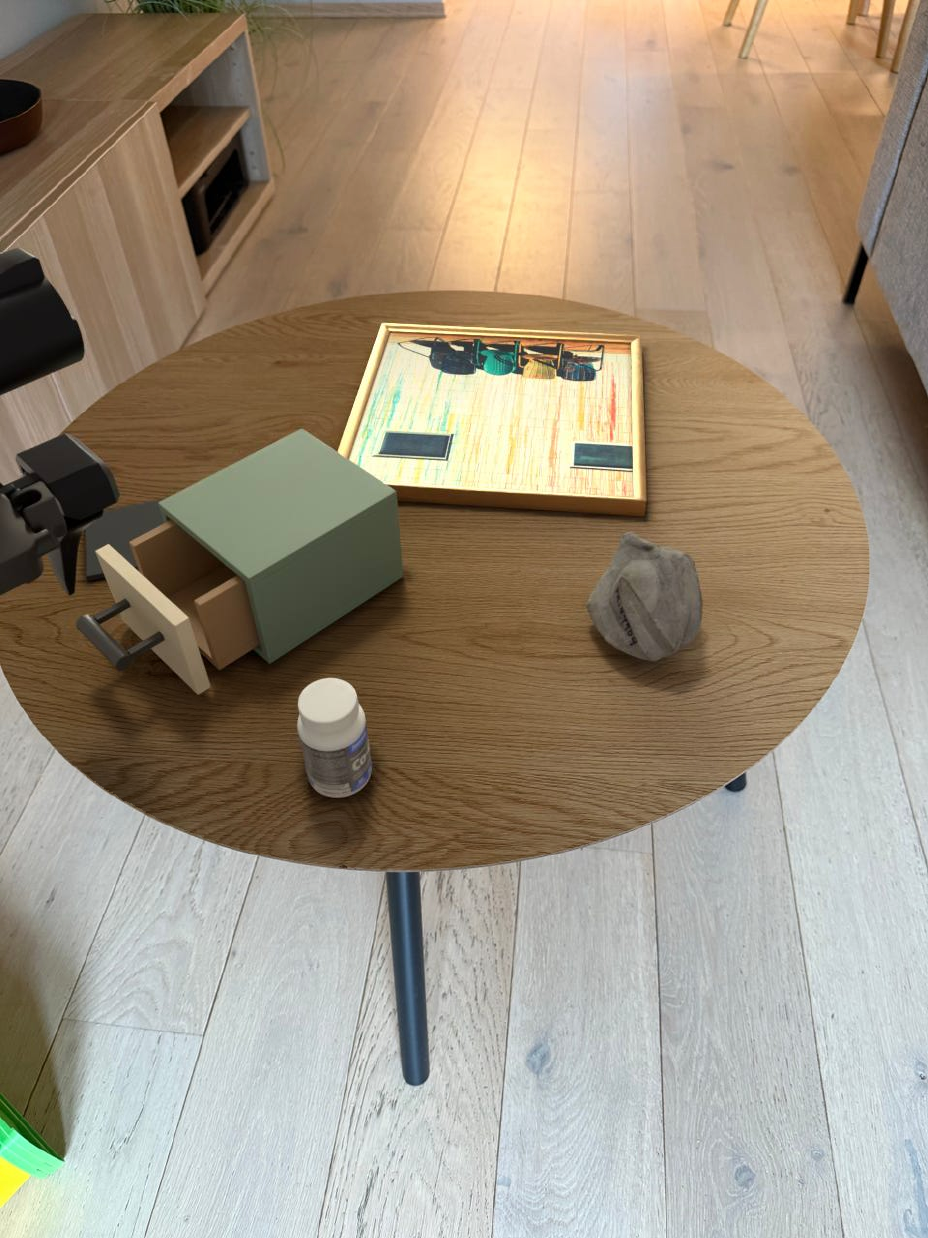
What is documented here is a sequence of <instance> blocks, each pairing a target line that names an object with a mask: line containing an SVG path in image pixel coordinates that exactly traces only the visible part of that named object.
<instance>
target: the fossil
mask: <svg viewBox="0 0 928 1238" xmlns="http://www.w3.org/2000/svg"><path fill="white" fill-rule="evenodd" d="M703 605H704V604H703V595H702V591H701V586H700V581H699V575H698V572H697V569H696V562H695V561H694V559H693V558H692V557H691V556H690V555H689V554H688V553H686V552H683V551H682V550H679V549H677V548H675V547H672V546H667V545H660V544H657V543H655V542H652V541H649V540H646V539H645V538H644V537H642V536H640V535H638V534H637V533H635V532H634V531H628V532H625V533H623V534H621V536H620V539H619V545H618V547H617V549H616V550H615V553H614V555H613V557H612V559H611V561H610V564H609V566H608V568H607V569H606V570H605V571H604V573H603V574H602V576H600V578H599V579H598V582H597V584H596V586H595V588H594V589H593V591H592V593H591V594H590V595H589V597H588V600H587V603H586V609H587V613H588V614H589V617H590V620H591V621H592V622H593V624H594V626H595V628H596V630H597V631H598V632H599V634H600V635H601V637H603V639H604V641H605V642H606V643H607V644H609V646H611V647H612V648H614V649H616V650H617V651H621V652H623V653H625V654H627V655H629V656H631V657H633V658H634V657H635V658H638V659H641V660H644V661H649V662H657V661H659V660H661V659H663V658H668V657H671V656H672V655H673V654H676V653H677V652H678V651H679V649H683V648H685V647H688V646H691V644H693V642H694V640H696V637H697V636H698V634H699V632H700V630H701V626H702V620H703Z"/></svg>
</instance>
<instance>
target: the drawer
mask: <svg viewBox="0 0 928 1238" xmlns="http://www.w3.org/2000/svg"><path fill="white" fill-rule="evenodd" d="M129 544H130V546H131V549H132V552H133V555H134V558H135V561H136V563H137V566H138V569H139V571H137V570H136V569H135V568H134V567H133V566H132V565H131V564H130V563H129V562H128V561H126V560H125V559H124V558H123V557H122V556H121V555H120V554H119V553H118V552H117V551H116V550H115V549H113V548H112V547H111V546H110V545H109V544H108V545H106V546H104V547H102V548H100V549H98V550H96V551H95V552H96V555H97V557H98V560H99V562H100V565H101V568H102V570H103V573H104V575H105V578H104V579H105V581H106V582H107V586H108V588H109V590H110V593H111V595H112V598H113V601H114V604H113V605H111V606H109V607H107V608H106V609H104V610H102V611H100V612H98V613H96V614H95V615H93V616H92V615H91V614H83V615H81V616H80V617H79V618H77V620H76V623H75V627H76V629H77V630H78V631H79V632H80V633H81V634H82V636H84V637H85V638H86V639H87V641H89V642H90V643H91V644H92V645H93V647H95V649H96V650H97V651H98V652H99V653H100V654H101V655H102V656H103V657H104V658H105V660H107V661H108V662H109V663H110V664H111V665H112V666H113V668H114V669H116V671H118V672H125V671H127V670H129V669H130V668H131V667H132V665H133V664H134V659H137V657H140V656H141V655H143V654H144V653H146V652H148V651H149V650H152V651H153V653H155V654H156V655H157V656H158V657H159V658H160V659H161V661H163V663H165V664H166V666H167V667H169V668H170V669H171V670H172V671H173V672H174V673H175V674H176V675H177V676H178V677H179V678H180V679H181V680H182V681H183V682H184V683H185V684H186V685H187V686H188V687H189V688H190V689H191V690H192V691H193V692H194V693H195V694H196V695H197V696H199V695H200V694H202V693H203V692H206V691H207V690H208V689H210V688H211V683H210V680H209V676H208V674H207V670H206V667H205V665H204V664H205V663H204V660H203V658H202V656H203V657H204V658H205V659H207V661H208V662H210V664H212V665H213V667H215V668H216V669H217V670H218V671H221V670H223V668H226V667H227V666H229V665H230V664H231V663H234V662H235V661H237V660H238V659H239V658H241V657H243V656H244V655H246V654H247V653H249V652H251V651H252V650H253V649H254V648H255V647H257V646H258V645H260V641H259V637H258V633H257V629H256V625H255V621H254V617H253V613H252V609H251V605H250V601H249V596H248V592H247V588H246V584H245V581H244V580H243V579H242V578H241V577H239V576H238V575H237V574H236V573H235V572H233V571H232V570H231V569H230V568H229V567H227V566H226V565H225V564H224V563H223V562H221V561H220V560H219V559H218V558H217V557H215V556H214V555H213V554H212V553H211V552H210V551H208V550H207V549H206V548H205V547H204V546H202V545H201V544H200V543H199V542H198V541H196V540H195V539H194V538H193V537H192V536H190V535H189V534H188V533H187V532H186V531H184V530H183V529H182V528H181V527H180V526H179V525H177V524H176V523H175V522H174V521H173V520H170V521H168V522H166V523H164V524H162V525H160V526H158V527H157V528H155V529H153V530H151V531H149V532H147V533H145V534H143V535H142V536H140V537H138V538H136V539H134V540H132V541H130V542H129ZM117 615H119V616H120V618H121V620H122V622H123V623H124V624H125V625H126V626H127V627H128V628H129V629H130V630H131V631H132V632H134V633H135V635H136V636H137V637H138V638H140V640H142V641H140V642H138V643H137V644H135V645H134V646H131V647H130V648H128V649H127V650H126V649H125V648H124V647H123V646H122V645H121V644H120V643H119V642H118V641H117V640H116V639H115V638H114V637H113V636H112V635H111V634H110V633H109V632H108V631H107V630H106V629H105V628H104V627H103V626H102V624H103V623H105V622H107V621H109V620H111V619H112V618H114V617H116V616H117Z"/></svg>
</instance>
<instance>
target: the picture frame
mask: <svg viewBox="0 0 928 1238" xmlns="http://www.w3.org/2000/svg"><path fill="white" fill-rule="evenodd" d="M642 339H643V338H642V335H641V334H623V333H622V334H621V333H600V332H581V331H580V332H579V331H558V330H539V329H538V330H537V329H515V328H498V327H497V328H496V327H495V328H494V327H477V326H476V327H475V326H472V327H471V326H451V325H433V324H431V325H429V324H413V323H412V324H411V323H391V322H389V323H388V322H381V324H380V327H379V330H378V333H377V337H376V339H375V342H374V345H373V348H372V351H371V353H370V356H369V359H368V361H367V365H366V368H365V371H364V374H363V376H362V379H361V383H360V385H359V389H358V391H357V395H356V396H355V400H354V403H353V406H352V408H351V411H350V414H349V417H348V420H347V422H346V426H345V429H344V431H343V435H342V437H341V440H340V443H339V446H338V449H337V452H338V453H340V454H341V455H343V456H344V457H346V458H347V459H349V460H350V461H352V462H353V463H355V464H356V465H358V466H359V467H361V468H362V469H364V470H365V471H367V472H368V473H370V474H371V475H373V476H374V477H376V478H377V479H379V480H380V481H382V482H383V483H385V484H386V485H388V486H389V487H391V488H392V489H394V490H395V491H396V492H397V502H412V503H425V504H426V503H427V504H443V505H456V506H457V505H459V506H476V507H491V508H505V509H522V510H535V511H537V510H539V511H553V512H568V513H584V514H601V515H617V516H630V517H631V516H633V517H645V514H646V507H647V503H648V502H647V501H648V499H647V472H646V471H647V468H646V467H647V466H646V441H645V440H646V439H645V437H646V436H645V433H646V432H645V408H644V407H645V403H644V401H645V400H644V375H643V371H644V370H643V343H642Z"/></svg>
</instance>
